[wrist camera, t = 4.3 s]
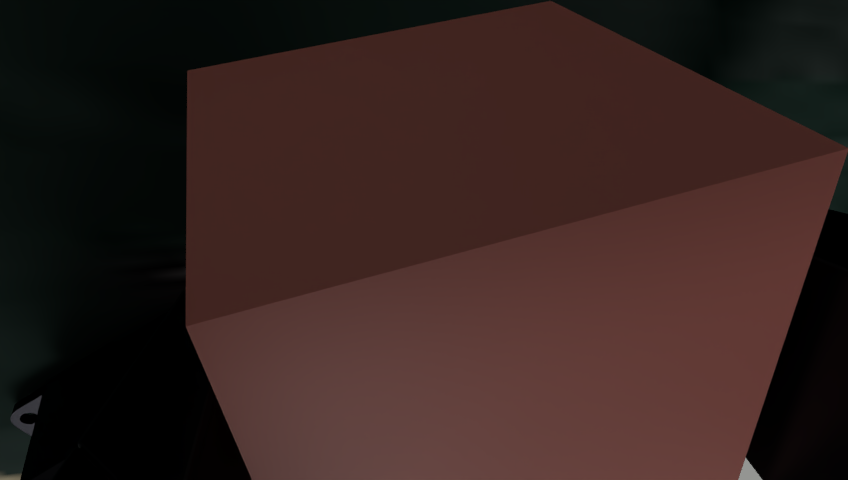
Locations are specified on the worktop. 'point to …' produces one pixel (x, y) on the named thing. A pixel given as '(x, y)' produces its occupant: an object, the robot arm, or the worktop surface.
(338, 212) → the red cube
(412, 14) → the worktop surface
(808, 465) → the robot arm
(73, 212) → the worktop surface
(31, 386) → the worktop surface
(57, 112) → the worktop surface
